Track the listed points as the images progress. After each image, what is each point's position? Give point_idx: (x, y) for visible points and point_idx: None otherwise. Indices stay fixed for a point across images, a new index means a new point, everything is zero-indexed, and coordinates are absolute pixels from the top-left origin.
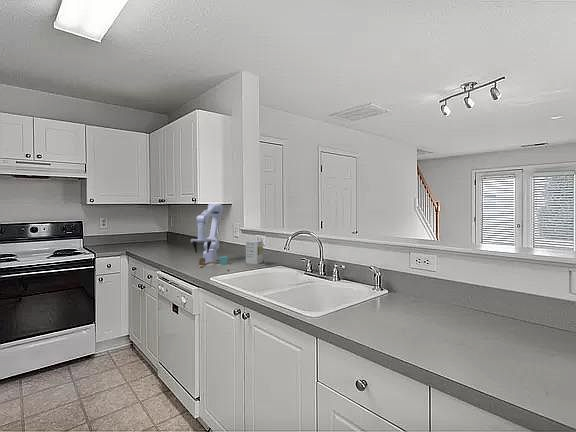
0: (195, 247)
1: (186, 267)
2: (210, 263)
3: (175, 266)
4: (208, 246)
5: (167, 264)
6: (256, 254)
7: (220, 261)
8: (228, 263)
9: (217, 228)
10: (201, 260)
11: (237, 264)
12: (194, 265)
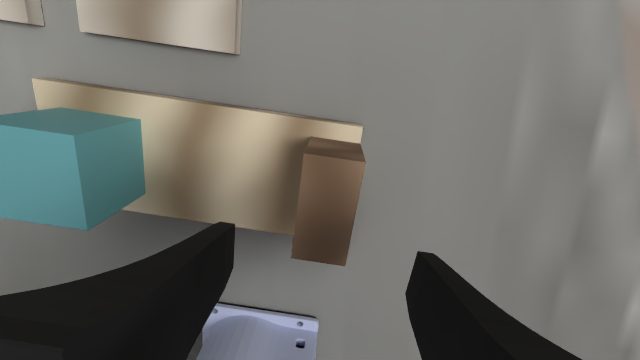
0: (487, 314)
1: (485, 161)
2: (245, 223)
3: (579, 239)
4: (130, 274)
5: (623, 346)
6: None
7: (104, 123)
8: None
9: None
10: (334, 152)
11: None
12: (397, 250)
